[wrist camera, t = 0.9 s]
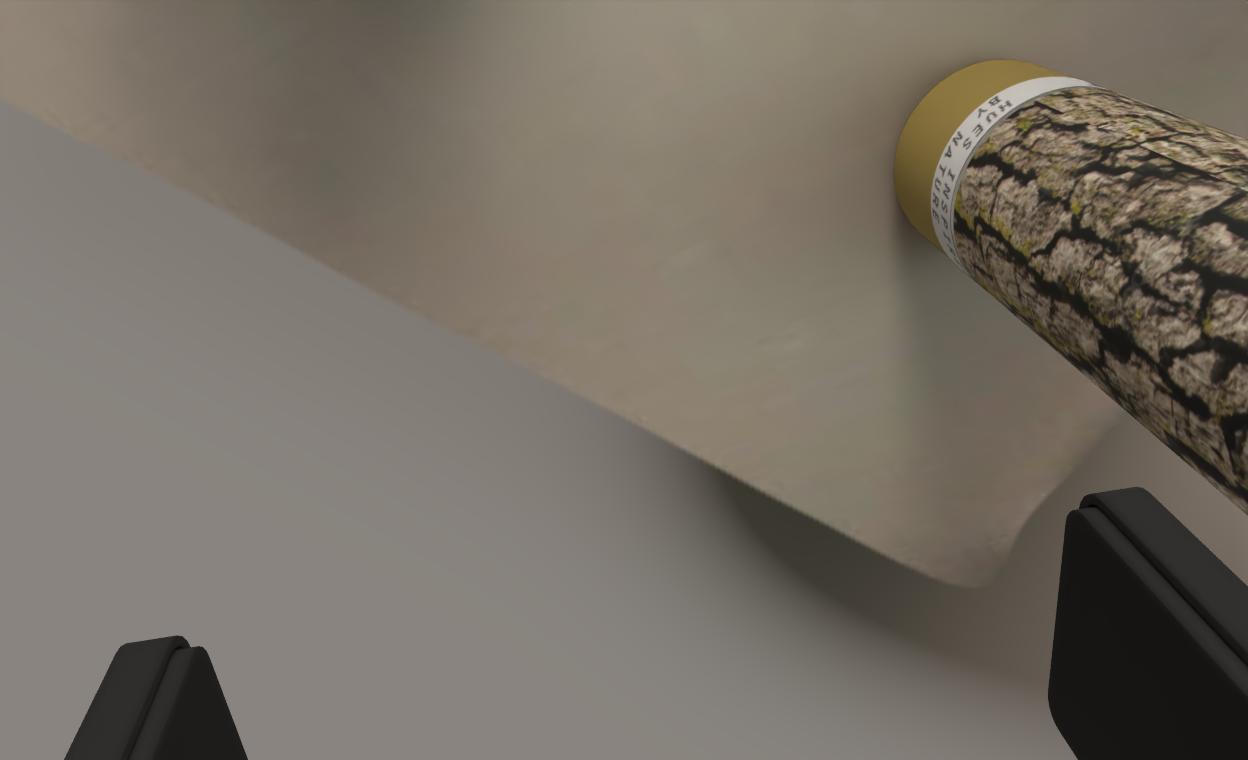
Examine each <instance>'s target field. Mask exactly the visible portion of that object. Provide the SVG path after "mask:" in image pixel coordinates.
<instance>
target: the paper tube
mask: <svg viewBox="0 0 1248 760" xmlns="http://www.w3.org/2000/svg"><path fill="white" fill-rule="evenodd" d="M894 183H895V189H896V193H897V197H898V200H899V202H900V205H901V207H902V209H903V211H904V213H905V215H906V216H907V218H908V219H909V221H910V222H911V224H912V225H913V226H914V227H915V228H916V229H917V230H918V231H919V232H920V233H921V234H922V235H923V236H924V237H926V238H927V239H928V240H929V241H930V242H931V243H933V244H934V245H935V246H936V247H937V248H938V249H940V250H941V251H942V252H943V253H944V254H945V255H947V256H948V257H949V258H950V259H951V260H952V261H953V262H954V263H955V264H956V265H957V266H958V267H959V268H960V269H962V270H963V271H964V272H965V273H966V274H967V275H969V276H970V277H971V278H972V279H973V280H974V281H976V282H977V283H978V284H979V285H980V286H981V287H983V288H984V289H985V290H986V291H987V292H988V293H990V294H991V295H992V296H993V297H994V298H995V299H997V300H998V301H999V302H1000V303H1001V304H1002V305H1003V306H1005V307H1006V308H1007V309H1008V310H1009V311H1010V312H1012V313H1013V314H1014V315H1015V316H1016V317H1017V318H1019V319H1020V320H1021V321H1022V322H1023V323H1024V324H1026V325H1027V326H1028V327H1029V328H1030V329H1031V330H1033V331H1034V332H1035V333H1036V334H1037V335H1038V336H1040V337H1041V338H1042V339H1043V340H1044V341H1045V342H1047V343H1048V344H1049V345H1050V346H1051V347H1052V348H1054V349H1055V350H1056V351H1057V352H1058V353H1059V354H1060V355H1062V356H1063V357H1064V358H1065V359H1066V360H1067V361H1069V362H1070V363H1071V364H1072V365H1073V366H1074V367H1076V368H1077V369H1078V370H1079V371H1080V372H1081V373H1083V374H1084V375H1085V376H1086V377H1087V378H1088V379H1090V380H1091V381H1092V382H1093V383H1094V384H1095V385H1097V386H1098V387H1099V388H1100V389H1101V390H1102V391H1104V392H1105V393H1106V394H1107V395H1108V396H1109V397H1111V398H1112V399H1113V400H1114V401H1115V402H1116V403H1117V404H1119V405H1120V406H1121V407H1122V408H1123V409H1124V410H1126V411H1127V412H1128V413H1129V414H1130V415H1131V416H1133V417H1134V418H1135V419H1136V420H1137V421H1138V422H1140V423H1141V424H1142V425H1143V426H1144V427H1145V428H1147V429H1148V430H1149V431H1150V432H1151V433H1152V434H1154V435H1155V436H1156V437H1157V438H1158V439H1159V440H1161V441H1162V442H1163V443H1164V444H1165V445H1166V446H1168V447H1169V448H1170V449H1171V450H1172V451H1173V452H1175V453H1176V454H1177V455H1178V456H1180V457H1181V458H1182V459H1183V460H1184V461H1185V462H1186V463H1187V464H1189V465H1190V466H1191V467H1192V468H1193V469H1194V470H1195V471H1197V472H1198V473H1199V474H1200V475H1201V476H1202V477H1204V478H1205V479H1206V480H1207V481H1208V482H1209V483H1211V484H1212V485H1213V486H1214V487H1215V488H1216V489H1218V490H1219V491H1220V492H1221V493H1222V494H1223V495H1225V496H1226V497H1227V498H1228V499H1229V500H1230V501H1231V502H1233V503H1234V504H1235V505H1236V506H1237V507H1238V508H1240V509H1241V510H1242V511H1243V512H1244V513H1245V514H1247V515H1248V140H1247V139H1245V138H1242V137H1239V136H1236V135H1233V134H1231V133H1228V132H1225V131H1222V130H1219V129H1217V128H1214V127H1211V126H1208V125H1206V124H1203V123H1200V122H1197V121H1194V120H1192V119H1189V118H1186V117H1183V116H1180V115H1178V114H1175V113H1172V112H1169V111H1166V110H1164V109H1161V108H1158V107H1155V106H1153V105H1150V104H1147V103H1144V102H1141V101H1139V100H1136V99H1133V98H1130V97H1127V96H1125V95H1122V94H1119V93H1116V92H1113V91H1111V90H1108V89H1105V88H1102V87H1100V86H1097V85H1094V84H1091V83H1088V82H1086V81H1082V80H1079V79H1075V78H1072V77H1069V76H1066V75H1064V74H1061V73H1058V72H1055V71H1052V70H1050V69H1047V68H1044V67H1041V66H1039V65H1036V64H1033V63H1029V62H1026V61H1020V60H1008V59H999V60H989V61H984V62H980V63H977V64H973V65H970V66H968V67H966V68H963V69H961V70H959V71H957V72H955V73H953V74H952V75H950V76H948V77H947V78H946V79H944V80H943V81H941V82H940V83H939V84H938V85H936V86H935V87H934V88H933V89H932V90H931V91H930V92H929V93H928V94H927V95H926V96H925V97H924V98H923V99H922V100H921V101H920V103H919V104H918V105H917V106H916V108H915V109H914V111H913V112H912V114H911V115H910V117H909V119H908V121H907V122H906V124H905V127H904V129H903V131H902V133H901V136H900V139H899V142H898V145H897V149H896V154H895V161H894Z"/></svg>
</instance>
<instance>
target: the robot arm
mask: <svg viewBox="0 0 1248 760" xmlns="http://www.w3.org/2000/svg"><path fill="white" fill-rule="evenodd" d="M1048 700H1049V707H1050V711H1051V714H1052V717H1053V720H1054V722H1055V724H1056V726H1057V727H1058V729H1059V731H1060V733H1061V734H1062V736H1063V737H1064V739H1065V740H1066V742H1067V743H1068V745H1069V747H1070V748H1071V750H1072V751H1073V753H1074V754H1075V756H1076V757H1077V759H1078V760H1248V586H1246V585H1245V583H1243V582H1242V581H1241V580H1240V579H1239V578H1238V577H1237V576H1236V575H1235V574H1234V573H1233V572H1232V571H1231V570H1230V569H1229V568H1228V567H1227V566H1226V565H1225V564H1223V562H1221V561H1220V560H1219V559H1218V558H1217V557H1216V556H1215V555H1214V554H1213V553H1212V552H1211V551H1210V550H1209V549H1208V548H1207V547H1206V546H1205V545H1204V544H1203V543H1202V542H1201V541H1199V539H1197V538H1196V537H1195V536H1194V535H1193V534H1192V533H1191V532H1190V531H1189V530H1188V529H1187V528H1186V527H1185V526H1184V525H1183V524H1182V523H1181V522H1180V521H1179V520H1177V518H1175V517H1174V516H1173V515H1172V514H1171V513H1170V512H1169V511H1168V510H1167V509H1166V508H1165V507H1164V506H1163V505H1162V504H1161V503H1160V502H1159V501H1158V500H1157V499H1156V498H1154V497H1153V496H1152V495H1151V494H1150V493H1149V492H1148V491H1146V490H1145V489H1143V488H1139V487H1132V488H1126V489H1120V490H1113V491H1107V492H1100V493H1094V494H1089V495H1087V496H1085V497H1084V498H1083V500H1082V501H1081V503H1080V507H1079V509H1078V510H1073V511H1071V512H1070V513H1069V514H1068V516H1067V519H1066V525H1065V535H1064V544H1063V554H1062V564H1061V573H1060V583H1059V592H1058V602H1057V611H1056V621H1055V632H1054V640H1053V650H1052V659H1051V669H1050V679H1049V688H1048ZM64 760H248V759H247V756H246V753H245V750H244V748H243V745H242V742H241V740H240V737H239V734H238V732H237V729H236V726H235V724H234V721H233V719H232V716H231V713H230V711H229V708H228V705H227V703H226V700H225V697H224V695H223V692H222V689H221V687H220V684H219V681H218V679H217V676H216V673H215V671H214V668H213V665H212V663H211V660H210V658H209V655H208V653H207V651H206V650H205V649H204V648H203V647H200V646H198V647H190V645H189V643H188V642H187V640H186V639H185V638H183V636H171V637H165V638H158V639H152V640H146V641H139V642H132V643H126V644H124V645H123V646H121V647H120V648H119V650H118V651H117V653H116V654H115V656H114V659H113V661H112V662H111V664H110V666H109V669H108V671H107V673H106V675H105V677H104V679H103V681H102V683H101V685H100V687H99V689H98V691H97V693H96V695H95V697H94V699H93V701H92V703H91V705H90V708H89V710H88V712H87V714H86V716H85V718H84V720H83V722H82V724H81V726H80V728H79V730H78V732H77V734H76V736H75V738H74V740H73V742H72V744H71V747H70V749H69V751H68V753H67V755H66V757H65V759H64Z"/></svg>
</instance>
